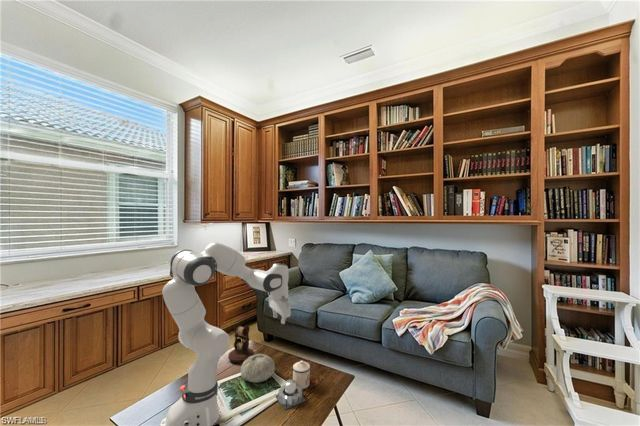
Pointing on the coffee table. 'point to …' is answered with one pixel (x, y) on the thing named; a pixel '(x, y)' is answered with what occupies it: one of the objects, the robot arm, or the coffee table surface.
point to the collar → (290, 398)
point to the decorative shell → (257, 368)
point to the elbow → (290, 387)
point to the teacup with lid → (301, 374)
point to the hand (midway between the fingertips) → (279, 320)
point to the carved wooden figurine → (241, 345)
